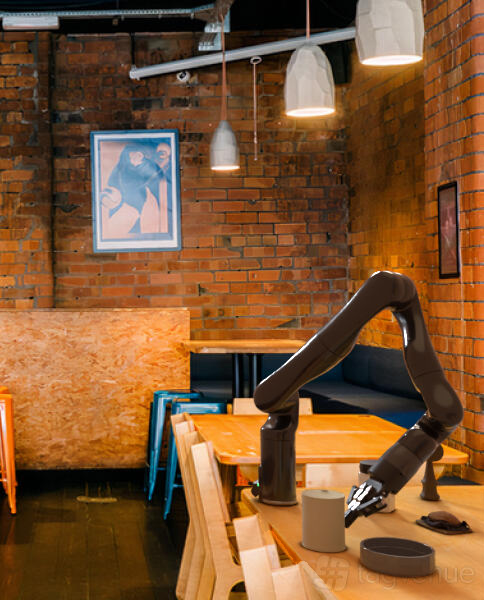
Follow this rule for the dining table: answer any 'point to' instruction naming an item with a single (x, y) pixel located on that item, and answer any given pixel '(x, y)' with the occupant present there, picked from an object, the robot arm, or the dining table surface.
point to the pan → (397, 556)
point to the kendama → (431, 476)
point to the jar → (364, 476)
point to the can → (323, 520)
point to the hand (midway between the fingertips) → (342, 525)
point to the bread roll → (444, 523)
